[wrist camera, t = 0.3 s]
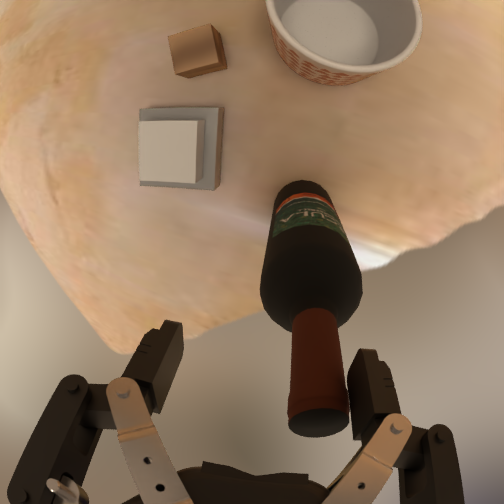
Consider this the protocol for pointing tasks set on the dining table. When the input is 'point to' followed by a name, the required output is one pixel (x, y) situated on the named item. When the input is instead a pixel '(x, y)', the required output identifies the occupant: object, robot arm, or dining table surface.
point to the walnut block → (197, 51)
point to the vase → (344, 36)
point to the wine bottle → (311, 303)
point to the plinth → (209, 145)
